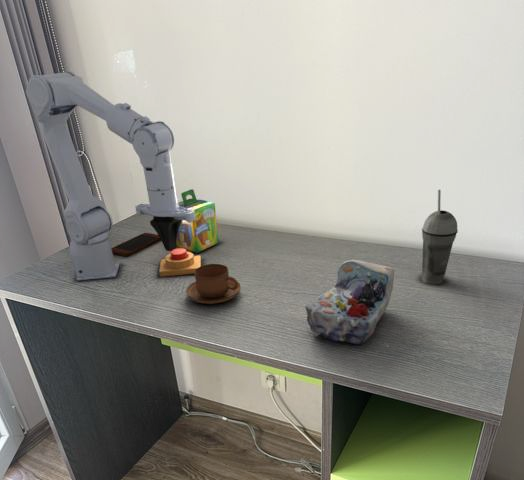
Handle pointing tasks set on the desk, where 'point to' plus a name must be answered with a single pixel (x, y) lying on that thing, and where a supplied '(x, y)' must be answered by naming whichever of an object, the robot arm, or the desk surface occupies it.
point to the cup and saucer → (213, 285)
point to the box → (179, 265)
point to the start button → (178, 254)
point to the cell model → (352, 302)
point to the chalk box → (197, 225)
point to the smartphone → (135, 244)
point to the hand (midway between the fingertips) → (170, 249)
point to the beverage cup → (437, 244)
